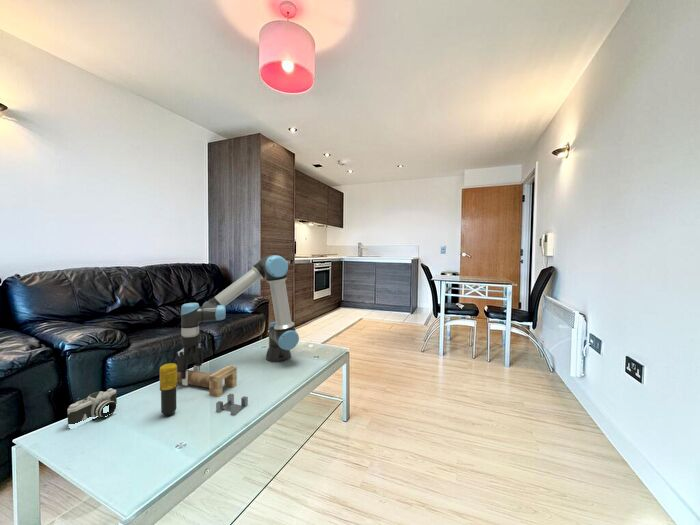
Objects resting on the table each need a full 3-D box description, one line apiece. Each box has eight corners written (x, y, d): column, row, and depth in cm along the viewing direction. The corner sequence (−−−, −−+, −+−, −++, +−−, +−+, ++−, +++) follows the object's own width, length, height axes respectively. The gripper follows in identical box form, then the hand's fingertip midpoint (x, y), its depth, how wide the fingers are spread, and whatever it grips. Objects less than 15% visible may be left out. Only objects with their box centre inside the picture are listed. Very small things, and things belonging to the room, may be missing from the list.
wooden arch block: (209, 395, 126) (209, 375, 125) (228, 383, 137) (228, 365, 137) (218, 397, 124) (218, 377, 124) (236, 385, 136) (236, 367, 135)
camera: (79, 433, 99) (78, 405, 99) (63, 428, 101) (62, 401, 101) (126, 409, 114) (125, 385, 114) (111, 405, 117) (110, 382, 116)
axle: (170, 383, 136) (170, 371, 136) (181, 377, 142) (180, 366, 142) (210, 391, 129) (209, 378, 129) (220, 384, 135) (219, 372, 135)
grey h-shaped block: (230, 402, 120) (230, 393, 120) (247, 406, 117) (247, 396, 117) (216, 412, 112) (216, 403, 112) (234, 416, 110) (234, 406, 110)
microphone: (151, 408, 115) (150, 361, 114) (181, 411, 113) (180, 362, 112) (139, 417, 109) (138, 366, 108) (170, 419, 107) (169, 368, 107)
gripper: (199, 329, 146) (200, 372, 147) (166, 340, 128) (167, 389, 128) (211, 330, 143) (211, 374, 144) (179, 341, 125) (179, 392, 126)
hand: (190, 381), depth 136 cm, fingers closed on axle, 6 cm apart
